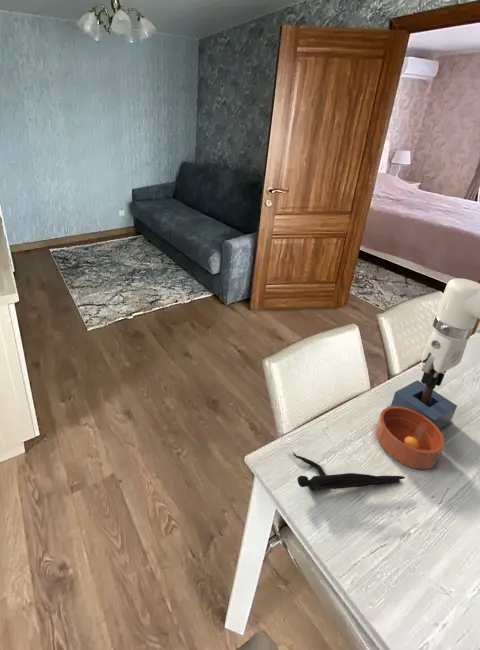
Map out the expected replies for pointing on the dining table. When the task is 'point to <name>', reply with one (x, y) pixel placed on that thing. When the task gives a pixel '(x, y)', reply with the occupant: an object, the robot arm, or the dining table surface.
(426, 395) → the stick
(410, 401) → the holder
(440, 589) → the dining table surface
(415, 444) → the ball
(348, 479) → the dark humanoid figurine
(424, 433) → the bowl
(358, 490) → the dining table surface
